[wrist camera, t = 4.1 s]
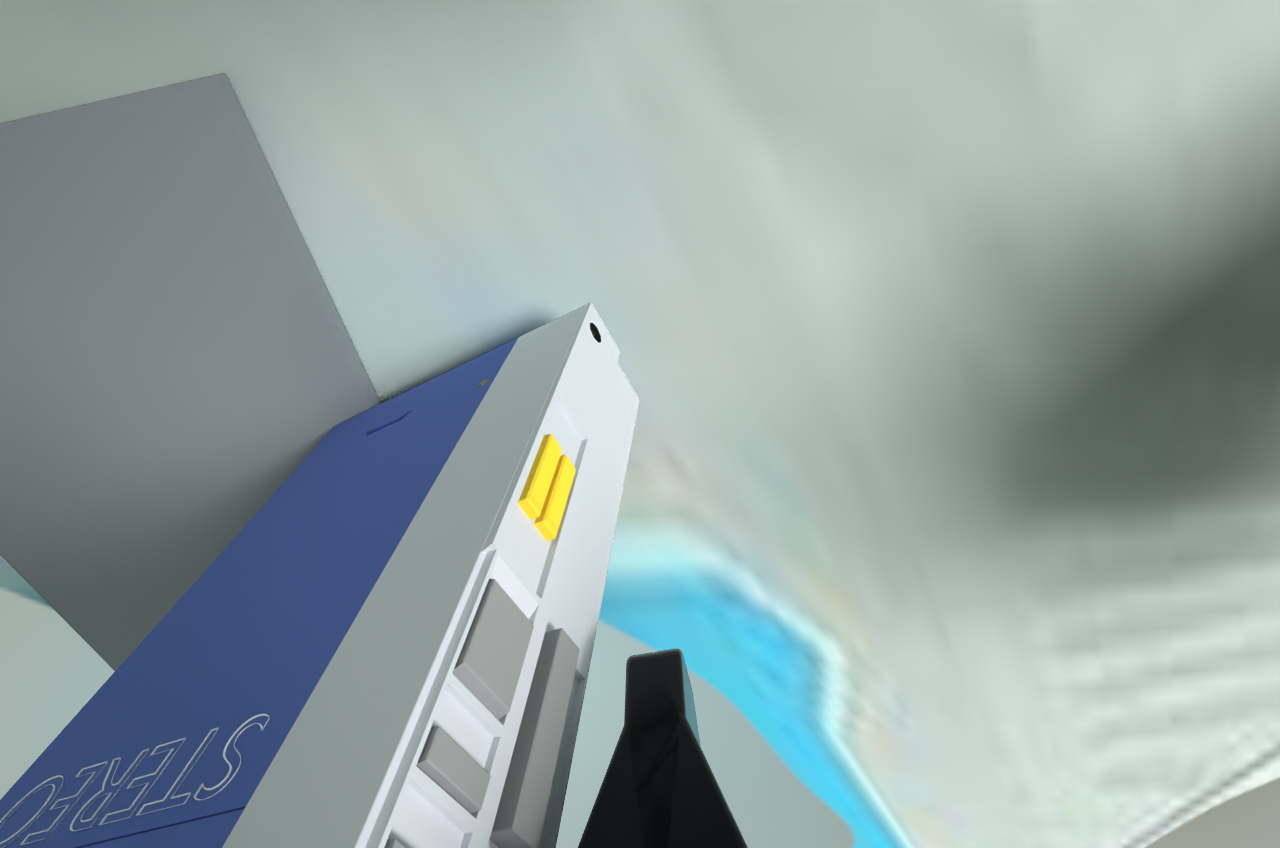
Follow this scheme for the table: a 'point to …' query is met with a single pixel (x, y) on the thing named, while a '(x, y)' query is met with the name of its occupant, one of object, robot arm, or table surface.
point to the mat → (152, 351)
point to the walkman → (375, 633)
